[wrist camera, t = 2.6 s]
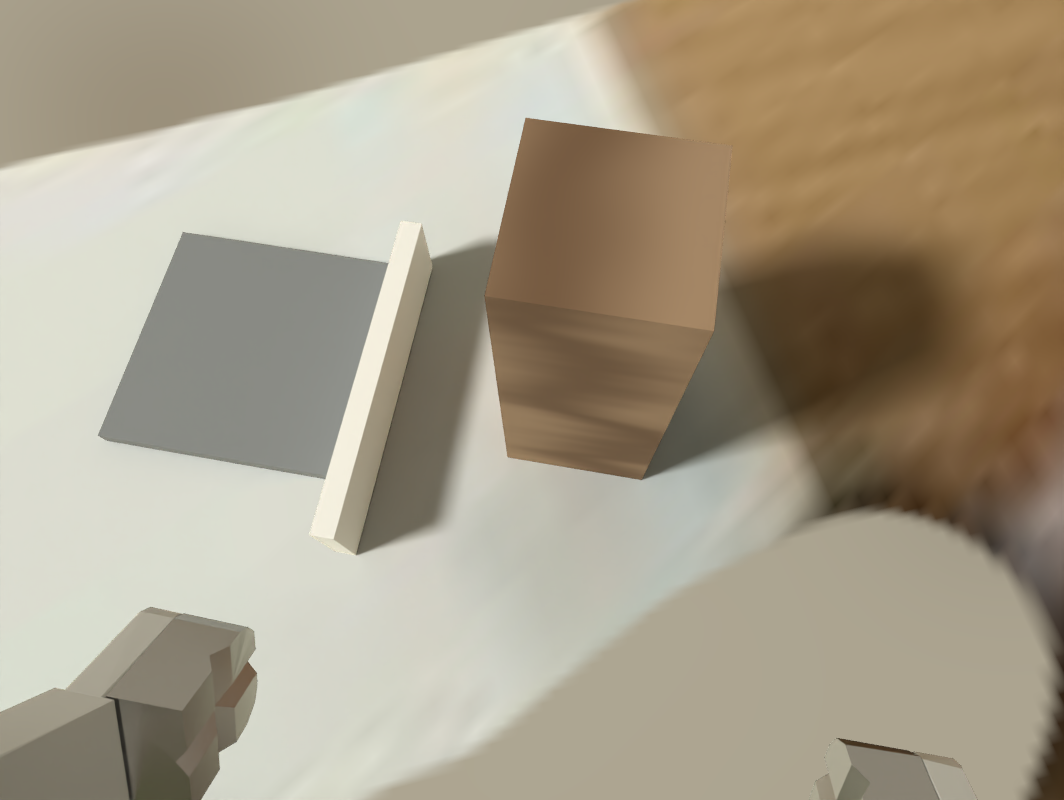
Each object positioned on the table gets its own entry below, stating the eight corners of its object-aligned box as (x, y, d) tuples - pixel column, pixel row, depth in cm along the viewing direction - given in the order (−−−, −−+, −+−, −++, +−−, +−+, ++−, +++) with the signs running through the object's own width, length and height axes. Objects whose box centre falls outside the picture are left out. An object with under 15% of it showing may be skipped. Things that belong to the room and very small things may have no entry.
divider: (432, 266, 30) (421, 223, 27) (355, 555, 26) (333, 539, 23) (414, 263, 30) (400, 220, 27) (334, 551, 26) (309, 535, 23)
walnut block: (657, 357, 28) (732, 145, 17) (641, 479, 27) (713, 331, 16) (531, 337, 29) (525, 118, 18) (507, 457, 27) (484, 295, 16)
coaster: (397, 272, 30) (394, 264, 29) (337, 480, 27) (332, 476, 26) (189, 240, 31) (183, 232, 30) (106, 440, 27) (97, 435, 27)
